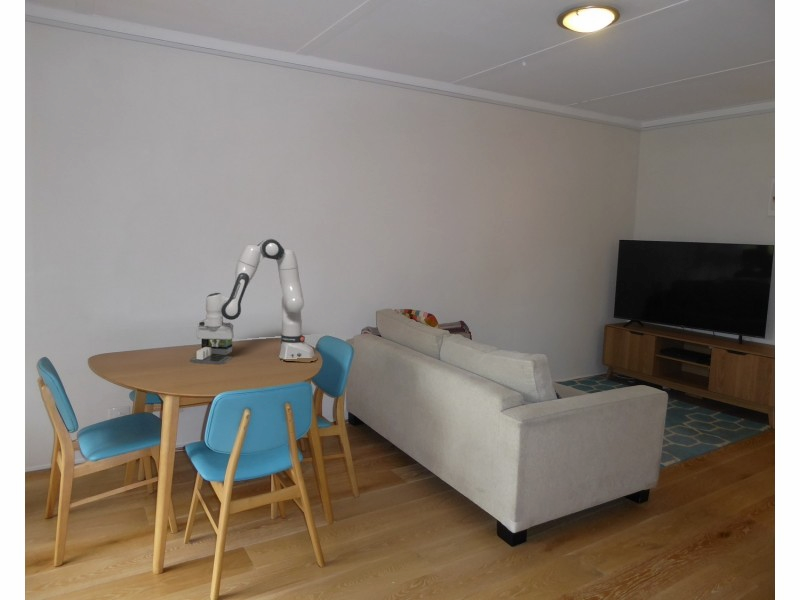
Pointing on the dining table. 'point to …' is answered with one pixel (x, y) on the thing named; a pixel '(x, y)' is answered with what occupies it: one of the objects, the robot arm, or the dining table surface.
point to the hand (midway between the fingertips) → (215, 346)
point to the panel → (212, 359)
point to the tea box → (222, 348)
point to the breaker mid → (205, 352)
